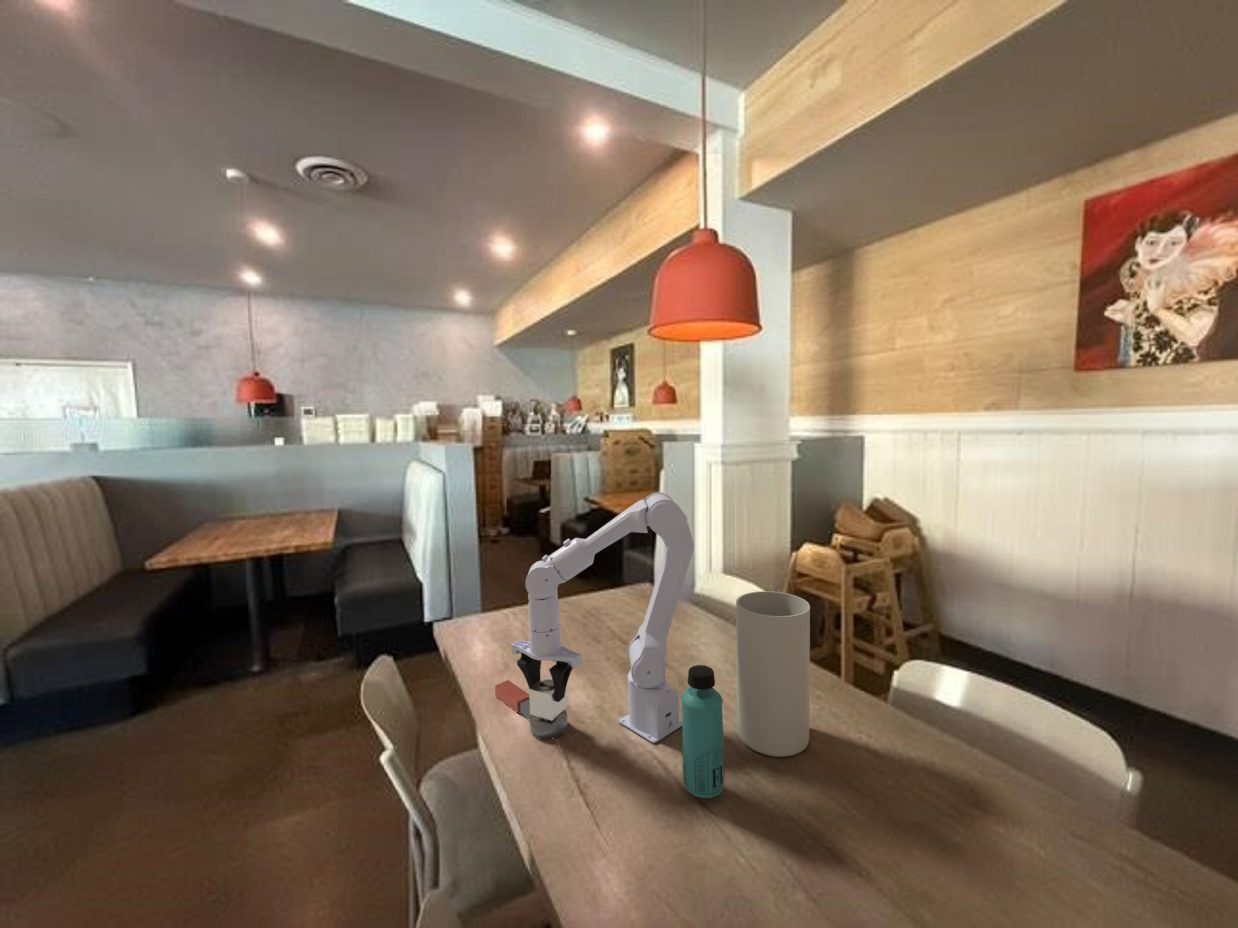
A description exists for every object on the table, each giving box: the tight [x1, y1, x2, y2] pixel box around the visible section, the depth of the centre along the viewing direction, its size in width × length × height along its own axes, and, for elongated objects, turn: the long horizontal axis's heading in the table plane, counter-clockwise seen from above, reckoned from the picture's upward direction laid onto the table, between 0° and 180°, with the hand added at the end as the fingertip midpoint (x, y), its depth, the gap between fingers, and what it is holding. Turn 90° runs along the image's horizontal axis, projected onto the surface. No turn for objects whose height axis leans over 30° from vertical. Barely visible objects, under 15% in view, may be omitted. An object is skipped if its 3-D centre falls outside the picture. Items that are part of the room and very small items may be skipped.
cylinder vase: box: [735, 590, 811, 758], centre depth 93 cm, size 12×12×25 cm
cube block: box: [528, 676, 568, 721], centre depth 98 cm, size 5×5×5 cm
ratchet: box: [494, 679, 568, 740], centre depth 103 cm, size 21×7×5 cm, turn 43°
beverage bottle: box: [680, 664, 726, 799], centre depth 80 cm, size 6×7×20 cm
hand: (547, 695), depth 98 cm, fingers closed on cube block, 5 cm apart
